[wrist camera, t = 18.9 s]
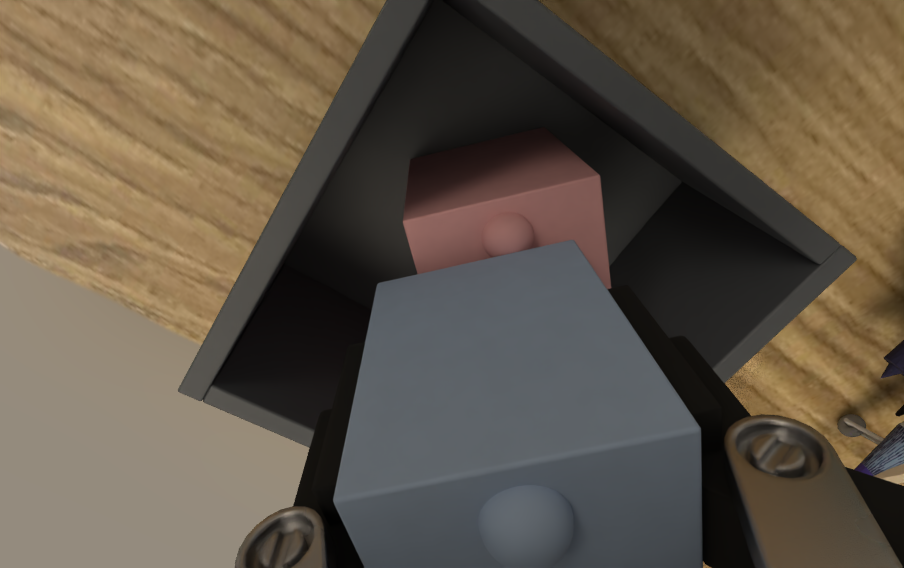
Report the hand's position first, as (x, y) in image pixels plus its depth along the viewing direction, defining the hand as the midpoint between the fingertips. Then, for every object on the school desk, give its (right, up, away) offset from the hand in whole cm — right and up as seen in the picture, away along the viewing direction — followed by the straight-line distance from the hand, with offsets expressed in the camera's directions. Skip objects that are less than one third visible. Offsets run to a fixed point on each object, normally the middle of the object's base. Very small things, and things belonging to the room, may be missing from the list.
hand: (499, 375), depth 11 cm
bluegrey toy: (0, +1, +1) cm, 1 cm away
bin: (0, +4, +7) cm, 8 cm away
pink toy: (0, +5, +7) cm, 8 cm away
